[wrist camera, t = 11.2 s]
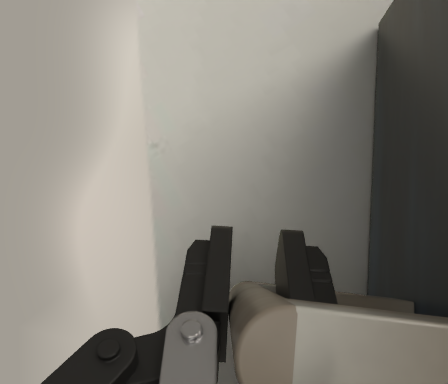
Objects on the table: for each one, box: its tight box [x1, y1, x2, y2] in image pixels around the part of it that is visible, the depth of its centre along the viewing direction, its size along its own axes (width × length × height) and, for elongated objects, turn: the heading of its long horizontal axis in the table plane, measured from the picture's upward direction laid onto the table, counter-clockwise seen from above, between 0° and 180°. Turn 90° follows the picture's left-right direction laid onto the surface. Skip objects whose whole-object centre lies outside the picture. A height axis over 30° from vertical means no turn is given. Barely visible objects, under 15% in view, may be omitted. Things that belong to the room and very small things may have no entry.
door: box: [228, 0, 448, 384], centre depth 12 cm, size 8×18×16 cm, turn 173°
